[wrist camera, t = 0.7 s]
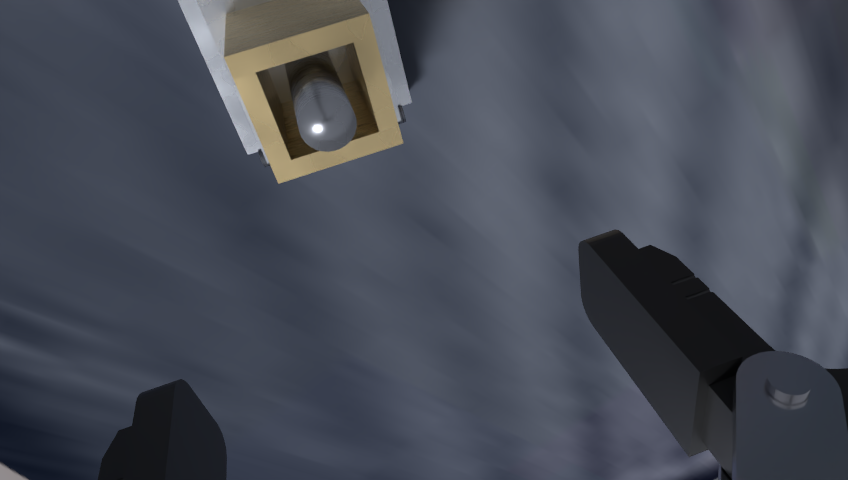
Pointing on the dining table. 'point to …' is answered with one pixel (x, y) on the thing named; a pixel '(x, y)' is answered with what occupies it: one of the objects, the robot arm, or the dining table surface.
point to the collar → (297, 38)
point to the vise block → (299, 77)
